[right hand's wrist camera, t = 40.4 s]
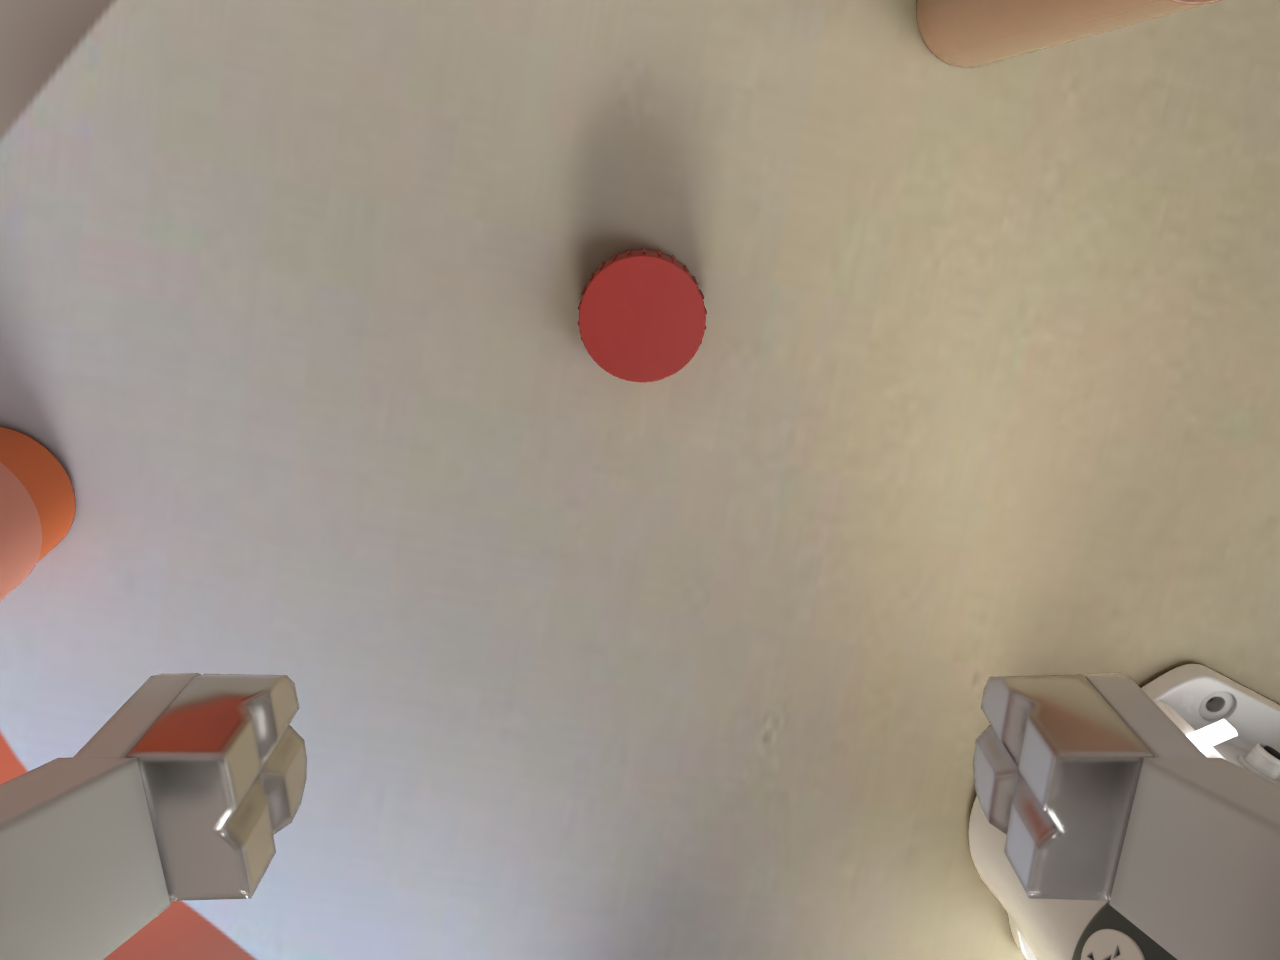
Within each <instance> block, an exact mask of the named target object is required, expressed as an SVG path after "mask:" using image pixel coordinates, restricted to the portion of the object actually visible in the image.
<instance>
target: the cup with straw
mask: <svg viewBox="0 0 1280 960" xmlns="http://www.w3.org/2000/svg"><path fill="white" fill-rule="evenodd" d="M75 507H76V504H75V495H74V490H73V487H72V484H71V481H70V479H69V477H68V475H67V473H66V471H65V470H64V468H63V467H62V465H61V464H60V462H59V461H58V460H57V459H56V458H55V457H54V456H53V455H52V454H51V452H50V451H48V450H47V449H46V448H45V447H44V446H42V445H41V444H40V443H38V442H37V441H35V440H34V439H32V438H30V437H28V436H26V435H25V434H22V433H20V432H17V431H15V430H12V429H8V428H4V427H0V601H1V600H2V599H3V598H4V597H5V596H6V595H8V594H9V593H10V592H11V591H12V590H13V589H14V588H16V587H17V586H18V585H19V584H20V583H21V582H22V581H23V580H24V579H25V578H26V577H27V576H28V575H29V574H30V573H31V571H32V570H33V568H34V567H35V565H36V563H37V562H38V561H39V560H40V559H42V558H43V557H44V556H45V555H46V554H47V553H48V552H50V551H51V550H52V549H53V548H54V547H55V546H56V545H57V544H58V543H59V542H60V541H61V540H62V539H63V538H64V537H65V536H66V534H67V533H68V531H69V530H70V528H71V525H72V523H73V520H74V516H75Z"/></svg>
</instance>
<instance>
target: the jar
mask: <svg viewBox="0 0 1280 960" xmlns="http://www.w3.org/2000/svg"><path fill="white" fill-rule="evenodd" d="M1218 1H1221V0H917V22H918V27H919V31H920V34H921V36H922V38H923V40H924V42H925V44H926V45H927V47H928V48H929V49H930V51H931V52H932V53H933V54H934V55H935V56H936V57H938V58H939V59H941V60H942V61H944V62H946V63H948V64H950V65H953V66H957V67H964V68H972V67H979V66H982V65H986V64H990V63H994V62H997V61H1001V60H1005V59H1008V58H1012V57H1016V56H1019V55H1023V54H1027V53H1030V52H1034V51H1038V50H1041V49H1045V48H1049V47H1052V46H1056V45H1060V44H1063V43H1067V42H1071V41H1074V40H1078V39H1082V38H1086V37H1089V36H1093V35H1097V34H1100V33H1104V32H1108V31H1111V30H1115V29H1119V28H1122V27H1126V26H1130V25H1133V24H1137V23H1141V22H1144V21H1148V20H1152V19H1155V18H1159V17H1163V16H1166V15H1170V14H1174V13H1177V12H1181V11H1185V10H1189V9H1192V8H1196V7H1200V6H1203V5H1207V4H1211V3H1214V2H1218Z"/></svg>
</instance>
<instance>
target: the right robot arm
mask: <svg viewBox="0 0 1280 960" xmlns="http://www.w3.org/2000/svg"><path fill="white" fill-rule="evenodd" d="M1213 697H1214V699H1213V700H1212V701H1210V702H1208V701H1209V700H1210V699H1211V698H1213ZM1207 702H1208V703H1207ZM298 709H299V704H298V699H297V694H296V689H295V684H294V682H293V681H292V680H291V679H290V678H289V677H288V676H287V675H240V674H202V675H201V674H199V673H180V674H159V675H155V676H151V677H150V678H149V679H148V680H147V681H146V682H145V683H144V684H143V685H142V686H141V687H140V688H139V689H138V690H137V691H136V692H135V693H134V694H133V695H132V697H131V698H130V699H129V700H128V701H127V702H126V703H125V704H124V705H123V706H122V707H121V708H120V709H119V710H118V711H117V712H116V713H115V714H114V715H113V716H112V717H111V718H110V720H109V721H108V722H107V723H106V724H105V725H104V726H103V727H102V728H101V729H100V730H99V731H98V732H97V733H96V734H95V735H94V736H93V737H92V738H91V739H90V740H89V741H88V743H87V744H86V745H85V746H84V747H83V748H82V749H81V750H80V751H79V752H78V753H77V754H76V755H75V756H74V757H73V758H57V759H55V760H53V761H51V762H49V763H46V764H44V765H42V766H40V767H38V768H36V769H34V770H31V771H29V772H27V773H25V774H23V775H21V776H19V777H16V778H14V779H12V780H10V781H8V782H6V783H4V784H1V785H0V960H103V959H104V958H105V957H107V956H108V955H109V954H110V953H112V952H113V951H114V950H115V949H117V948H118V947H119V946H120V945H122V944H123V943H124V942H125V941H126V940H128V939H129V938H130V937H132V936H133V935H134V934H135V933H136V932H138V931H139V930H140V929H141V928H143V927H144V926H145V925H146V924H148V923H149V922H150V921H151V920H153V919H154V918H155V917H156V916H158V915H159V914H160V913H161V912H163V911H164V910H165V909H166V908H167V907H169V906H170V905H171V902H170V901H177V900H212V899H247V898H252V896H253V894H254V892H255V890H256V888H257V887H258V885H259V883H260V881H261V879H262V877H263V875H264V873H265V872H266V870H267V868H268V866H269V864H270V862H271V860H272V858H273V857H274V855H275V853H276V849H275V843H274V837H273V835H274V834H275V833H277V832H278V831H280V830H281V829H283V828H284V827H286V826H287V825H289V824H290V823H291V822H292V820H293V818H294V816H295V814H296V812H297V810H298V808H299V806H300V804H301V800H302V796H303V791H304V787H305V783H306V772H307V756H306V749H305V742H304V739H303V738H302V737H301V736H300V735H299V734H298V733H297V732H296V731H295V730H294V729H293V728H292V727H291V726H290V725H289V724H290V722H291V720H292V719H293V717H294V715H295V714H296V712H297V710H298ZM981 709H982V710H983V712H984V714H985V715H986V717H987V719H988V720H989V722H990V724H991V725H990V726H989V727H988V728H987V729H986V730H985V731H984V732H983V733H982V734H981V735H980V736H979V737H978V738H977V739H976V743H975V751H974V760H973V771H974V781H975V790H976V793H977V796H976V798H975V801H974V804H973V807H972V810H971V815H970V820H969V830H968V838H969V848H970V853H971V857H972V860H973V863H974V865H975V868H976V870H977V872H978V874H979V876H980V877H981V879H982V880H983V882H984V883H985V884H986V886H987V887H988V888H989V889H990V891H991V892H992V893H993V894H994V895H995V897H996V898H997V899H998V900H999V902H1000V903H1001V904H1002V906H1003V907H1004V909H1005V910H1006V911H1007V913H1008V919H1009V924H1010V929H1011V933H1012V936H1013V939H1014V941H1015V943H1016V944H1017V946H1018V947H1019V949H1020V951H1021V952H1022V954H1023V955H1024V957H1025V958H1026V959H1027V960H1280V705H1279V704H1277V703H1275V702H1273V701H1271V700H1269V699H1267V698H1265V697H1263V696H1262V695H1260V694H1258V693H1256V692H1254V691H1252V690H1250V689H1248V688H1246V687H1244V686H1242V685H1240V684H1239V683H1237V682H1235V681H1233V680H1231V679H1229V678H1227V677H1225V676H1223V675H1221V674H1219V673H1217V672H1216V671H1214V670H1212V669H1210V668H1208V667H1206V666H1203V665H1200V664H1186V665H1182V666H1179V667H1177V668H1174V669H1172V670H1170V671H1168V672H1166V673H1165V674H1163V675H1161V676H1159V677H1158V678H1156V679H1154V680H1153V681H1151V682H1150V683H1148V684H1146V685H1145V686H1143V687H1142V688H1140V687H1139V686H1138V685H1137V684H1136V683H1135V682H1134V681H1133V680H1132V679H1131V678H1130V677H1128V676H1126V675H1123V674H1121V673H1102V674H1076V675H1047V676H1007V677H989V679H988V682H987V684H986V686H985V688H984V692H983V698H982V704H981Z"/></svg>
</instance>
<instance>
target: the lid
mask: <svg viewBox="0 0 1280 960" xmlns="http://www.w3.org/2000/svg"><path fill="white" fill-rule="evenodd" d="M697 284H698V283H697V280H696V278H695V277H694V276H693V277H692V276H691V274H690V273H689V272H688V269H687V267H686V265H685V264H684V265H682V264H680V263H679V262H678V261H677V260H675V257H674V256H672V257H670V256H668V255H666V254H664V253H661V250H658V251H653V250H646V248H643V249H639V250H631V249H628V251H627V252H623V253H621V254H618V255H616V254H614V255H613V257H612V258H611V259H609V260H608V261H606V262H605V263H604V262H602V263H601V265H600V268H599V269H598V270H597V271H596V272H595V274H594V273H592V274H591V276H590V279H589V283H588V286H585V287H584V290H583V292H582V295H583V298H582V300H581V302H580V304H579V307H578V310H579V321H578V325H579V328H580V333H581V339H582V340H583V343H584V345H585V347H586V349H587V351H588V353H589V354H590V356H591V357H592V358H593V359H594V361H595V362H596V363H597V364H598V365H599V366H600V367H602V368H603V369H604V370H605V371H607V372H608V373H610V374H612V375H613V376H616V377H618V378H620V379H624V380H627V381H632V382H653V381H657V380H661V379H664V378H666V377H669V376H671V375H673V374H675V373H676V372H678V371H679V370H680V369H682V368H683V367H684V366H685V365H686V364H687V363H688V362H689V361H690V360H691V359H692V358H693V356H694V355H695V353H696V352H697V350H698V348H699V346H700V344H701V343H702V338H703V335H704V330H706V326H705V322H706V315H705V314H707V311H706V309H705V306H704V302H703V299H704V296H703V294H702V292H701V290H699V289H698V287H697Z"/></svg>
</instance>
